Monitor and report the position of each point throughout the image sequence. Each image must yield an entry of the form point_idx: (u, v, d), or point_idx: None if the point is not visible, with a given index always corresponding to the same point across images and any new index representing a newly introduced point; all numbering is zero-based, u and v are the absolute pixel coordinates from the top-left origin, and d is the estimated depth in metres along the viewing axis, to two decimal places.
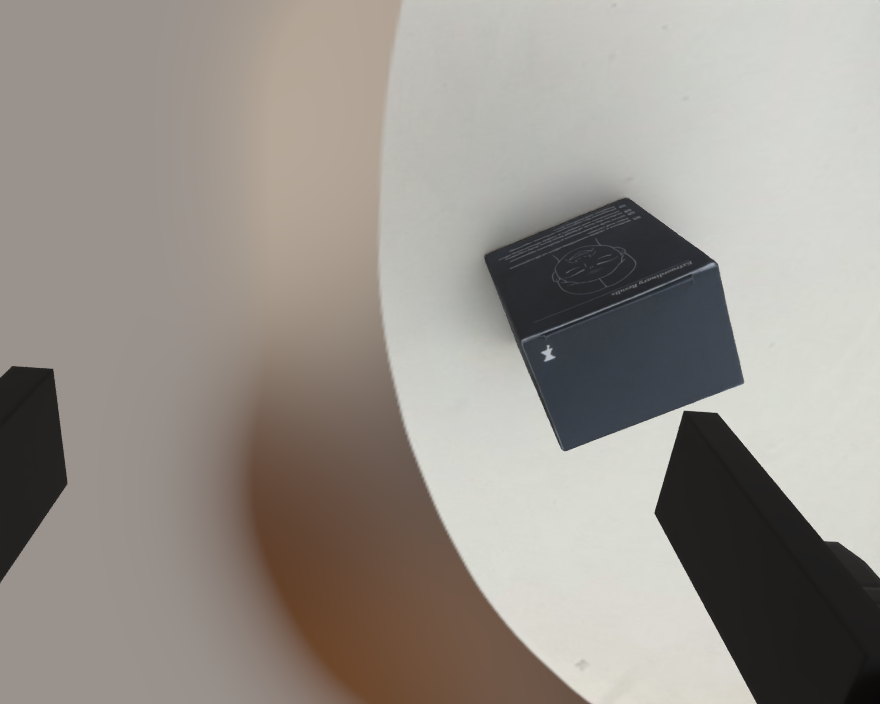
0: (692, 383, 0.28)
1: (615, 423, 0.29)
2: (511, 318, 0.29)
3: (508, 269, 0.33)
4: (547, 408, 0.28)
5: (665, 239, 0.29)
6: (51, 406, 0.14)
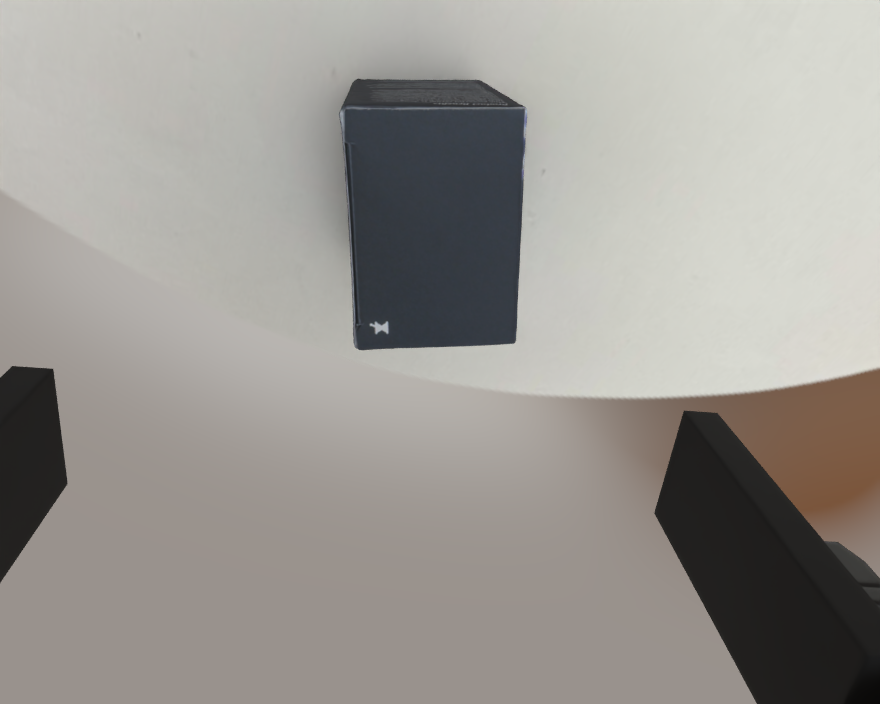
0: (492, 177, 0.22)
1: (504, 280, 0.23)
2: None
3: None
4: (449, 345, 0.24)
5: None
6: (51, 406, 0.14)
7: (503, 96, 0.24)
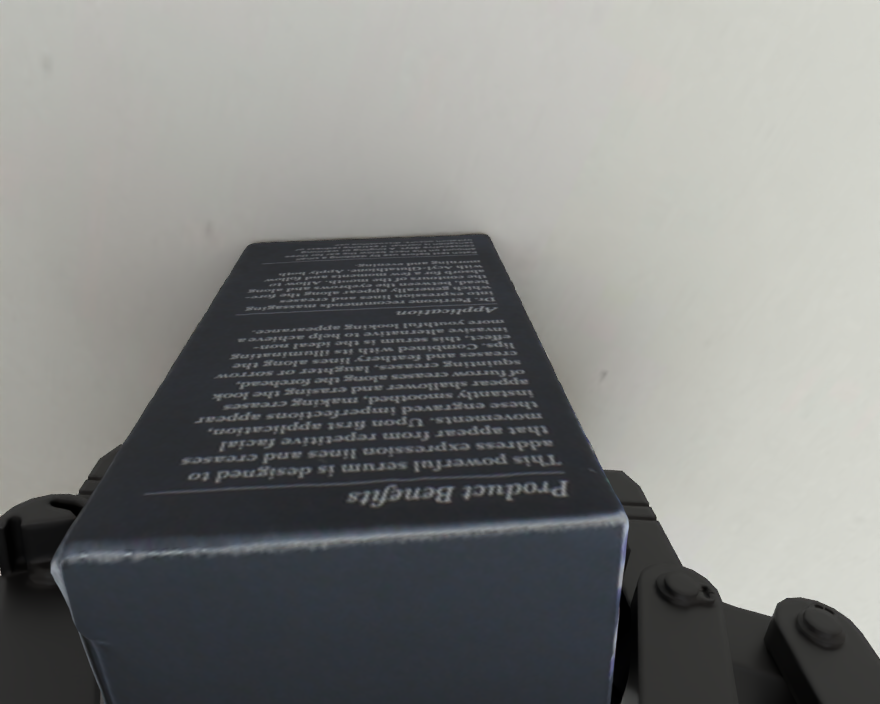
0: (526, 685, 0.08)
1: None
2: None
3: None
4: None
5: None
6: None
7: (545, 384, 0.09)
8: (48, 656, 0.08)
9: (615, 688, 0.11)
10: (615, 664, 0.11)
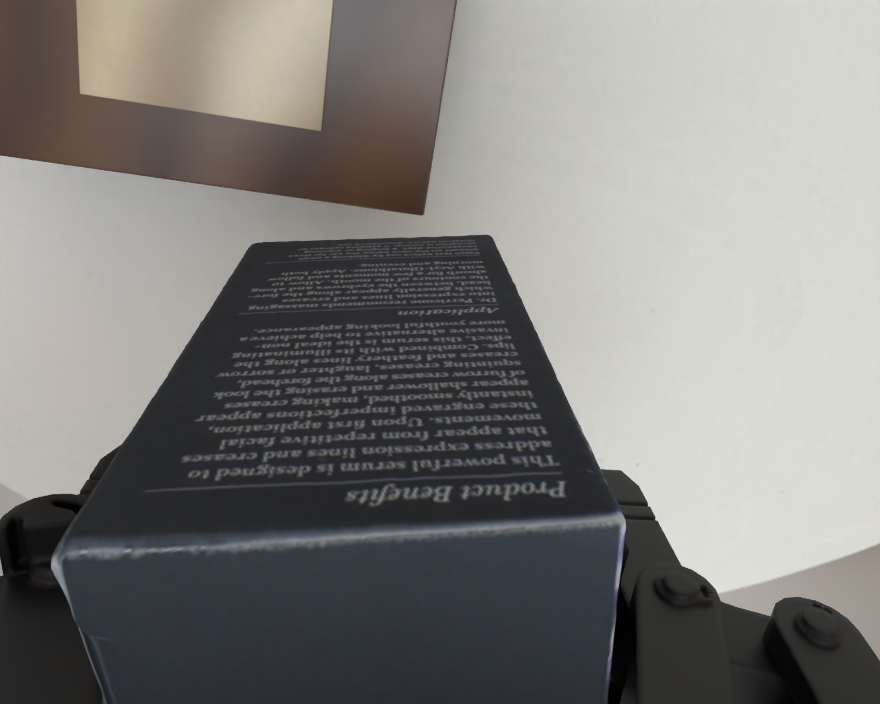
0: (523, 685, 0.08)
1: None
2: None
3: None
4: None
5: None
6: None
7: (544, 385, 0.09)
8: (50, 656, 0.08)
9: (613, 688, 0.11)
10: (613, 664, 0.11)
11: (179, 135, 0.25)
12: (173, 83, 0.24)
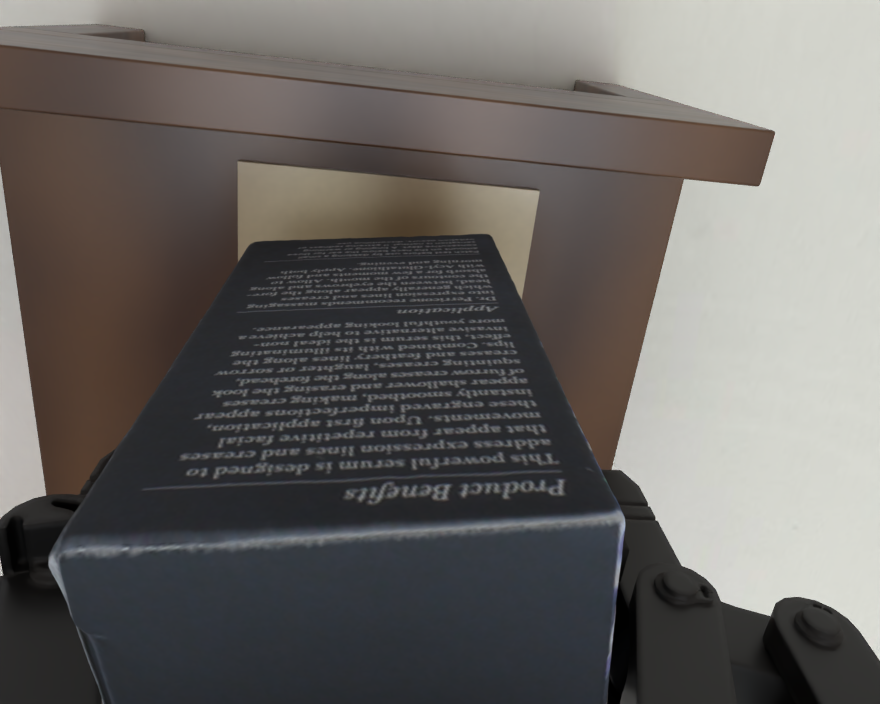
0: (522, 684, 0.08)
1: None
2: None
3: None
4: None
5: None
6: None
7: (544, 383, 0.09)
8: (50, 655, 0.08)
9: (614, 688, 0.11)
10: (614, 664, 0.11)
11: None
12: None
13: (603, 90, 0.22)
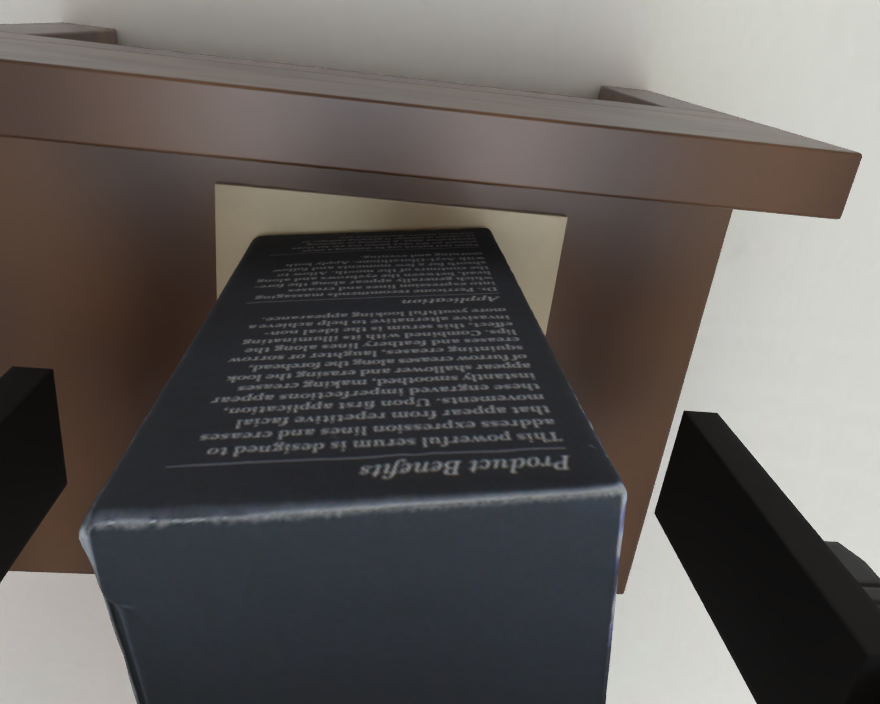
0: (529, 651, 0.08)
1: None
2: None
3: None
4: None
5: None
6: (51, 406, 0.14)
7: (546, 368, 0.10)
8: None
9: None
10: None
11: None
12: None
13: (636, 98, 0.20)
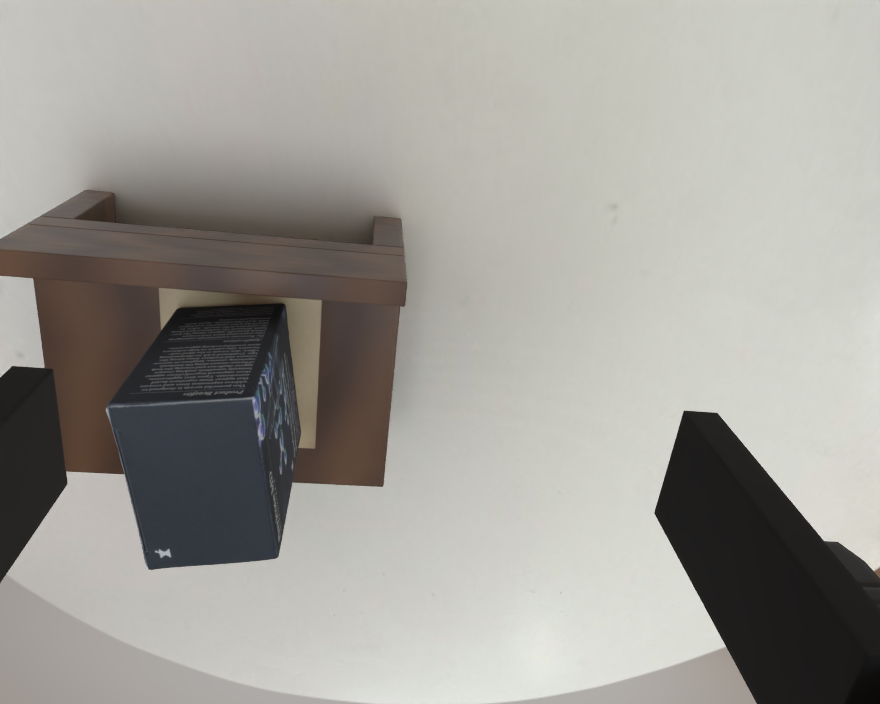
0: (234, 446, 0.28)
1: (258, 515, 0.29)
2: None
3: None
4: (223, 562, 0.30)
5: None
6: (51, 406, 0.14)
7: (257, 365, 0.30)
8: None
9: None
10: None
11: None
12: None
13: (373, 232, 0.39)
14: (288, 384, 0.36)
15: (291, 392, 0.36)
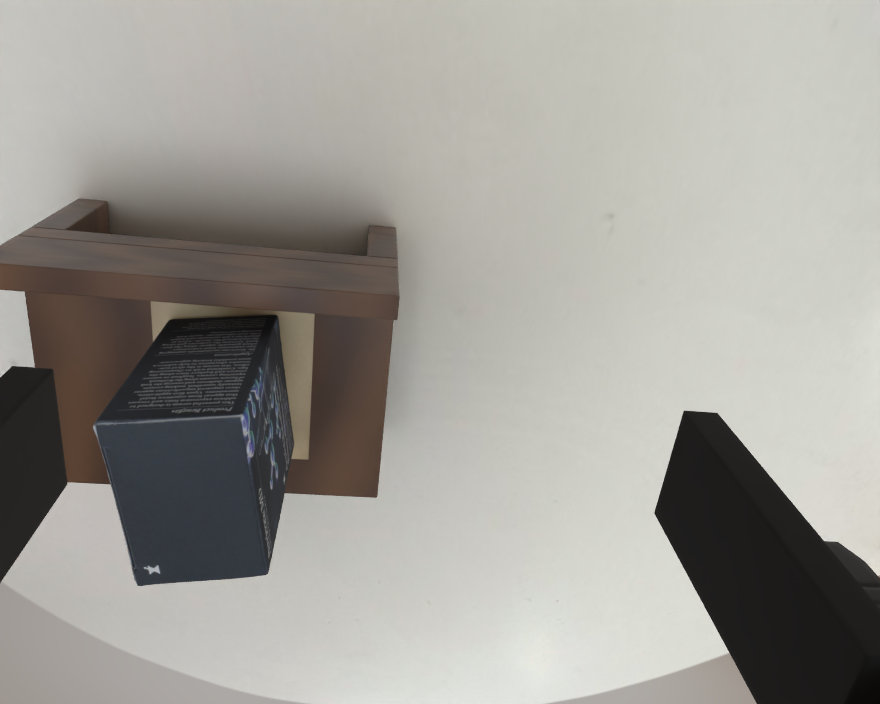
0: (223, 464, 0.28)
1: (247, 532, 0.29)
2: None
3: None
4: (212, 578, 0.30)
5: None
6: (51, 406, 0.14)
7: (247, 381, 0.29)
8: None
9: None
10: None
11: None
12: None
13: None
14: (280, 397, 0.35)
15: (283, 404, 0.36)
